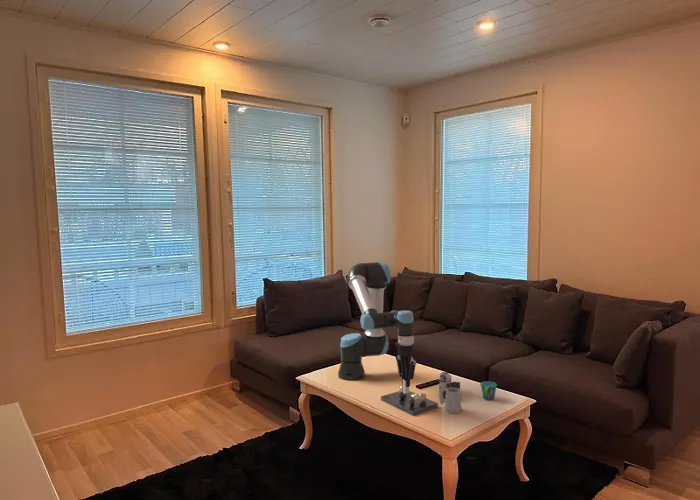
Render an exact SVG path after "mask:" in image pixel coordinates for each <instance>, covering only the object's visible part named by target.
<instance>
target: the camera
mask: <svg viewBox="0 0 700 500" xmlns="http://www.w3.org/2000/svg"><path fill="white" fill-rule="evenodd" d="M439 375H440V376H439V378H438V382H439V386H438V389H439V390H438V393H439V392H440V389H441V385H442V382H444V384H445V388H458V389H460V390H461V382H459V381H452V375H451V374H449V373H448V372H447V371H443V372H440V373H439ZM445 395H446V391H444V392H443V398H444V399H446V397H445Z"/></svg>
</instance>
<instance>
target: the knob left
mask: <svg viewBox="0 0 700 500" xmlns="http://www.w3.org/2000/svg"><path fill="white" fill-rule="evenodd" d="M399 391H400V392H399V399H400V400H404V395H406V394H404V393H403V384H401V385H400V386H399Z"/></svg>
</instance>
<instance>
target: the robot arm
mask: <svg viewBox="0 0 700 500" xmlns="http://www.w3.org/2000/svg"><path fill="white" fill-rule="evenodd" d="M346 280H347V285H348V287H349V288H350V289H351V290H352V292H353V295H354V296H355V300H356V302H357V304H358V307H359V309H360V310H359V311H360V312H361V315H360V327H361V328H362V329H363V330H365V331H364V335H361V334H360V333H358V332H357V333H355V332H354V333H348V334H345V335H343V336H342V337H341V338H340V365H339V369H338V371H337V376H338V378H339V379H341V380H345V381H356V380H362V379H364V378H365V376H366V371H365V369H364V366H363V363H362V358H365V357H378V356H383V355H385V354H386V353H387V351H388V349H389V337H388V335H387V334H386V332H385V330H383V329H393V328H396V329H397V352H398V355H396V356H395V361H396V365H397V370H398V371H397V372H398V376H399V377H400V378H401V379H402V380H401V381H402V384H401V385H403V393H404V394H407V393H409V391H410V387H411V380H413V379H414V376H415V375H414V374H415V371H416V365H417V363H418V361H417V360H415V359H414V356H413V354H414V352H415V348H414V347H415V345H414V342H415V338H414V333H415V332H414V327H415V326H414V324H415V323H414V320H415V318H414V312H413V311H411V310H391V311H390V312H384V296H385V295H384V293H385V292H384V290H385V289H386V288H387V286H388V284H390V282H391V280H392V275H391V269H390V268H389V266H388V264H387V263H386V262H381V261H380V262H379V261H377V262H359V263H357V264H354V265H353V266H352V267H351V268H350V270H349V271H348V273H347V277H346Z"/></svg>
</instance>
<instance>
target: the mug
mask: <svg viewBox="0 0 700 500" xmlns="http://www.w3.org/2000/svg"><path fill="white" fill-rule="evenodd" d="M444 391H446V395H445V397H446V399H444V398H443V392H444ZM461 399H462V395H461V388H460V389H458V388H445V384H444V382H442V385H441V389H440V392H439V391H438V400H439V402H440V405H444V404H445V405H444V409H445V411H446V413H449V414H459V413H461V411H462V408H463V407H462V404H461Z"/></svg>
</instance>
